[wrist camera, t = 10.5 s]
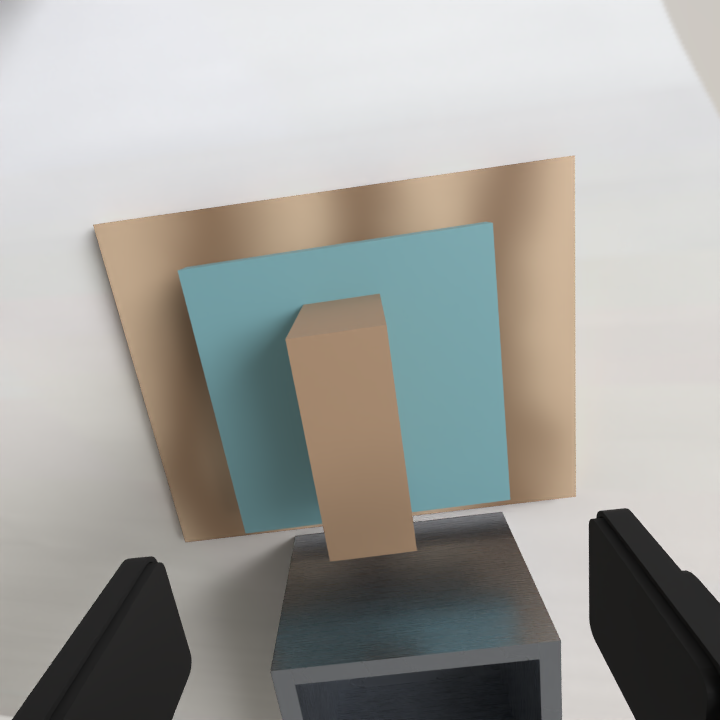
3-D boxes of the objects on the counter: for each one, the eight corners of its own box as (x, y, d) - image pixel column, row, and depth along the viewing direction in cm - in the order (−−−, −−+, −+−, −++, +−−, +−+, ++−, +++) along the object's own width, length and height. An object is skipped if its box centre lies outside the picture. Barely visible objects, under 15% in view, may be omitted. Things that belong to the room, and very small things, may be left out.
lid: (477, 220, 21) (538, 231, 14) (495, 470, 25) (551, 582, 17) (197, 262, 21) (117, 294, 14) (256, 501, 25) (215, 622, 18)
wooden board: (566, 157, 21) (574, 155, 20) (569, 487, 26) (575, 496, 25) (102, 223, 22) (92, 224, 21) (190, 532, 27) (185, 542, 26)
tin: (502, 512, 26) (560, 640, 19) (511, 669, 30) (563, 832, 22) (295, 536, 27) (270, 671, 19) (327, 689, 30) (317, 855, 22)
